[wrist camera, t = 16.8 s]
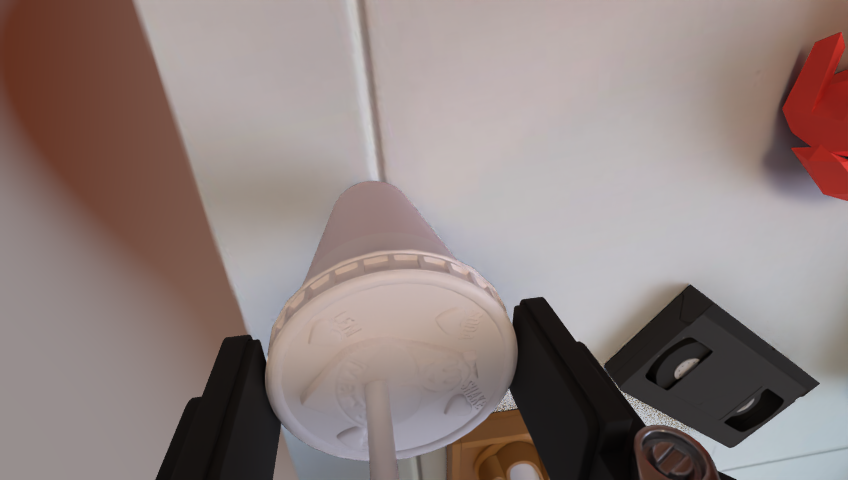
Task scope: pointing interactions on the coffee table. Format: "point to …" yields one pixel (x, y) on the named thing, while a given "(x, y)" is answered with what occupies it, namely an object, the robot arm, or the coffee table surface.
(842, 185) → the animal figurine
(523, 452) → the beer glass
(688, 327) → the vhs tape
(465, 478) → the amber tray
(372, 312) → the smoothie
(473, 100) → the coffee table surface
